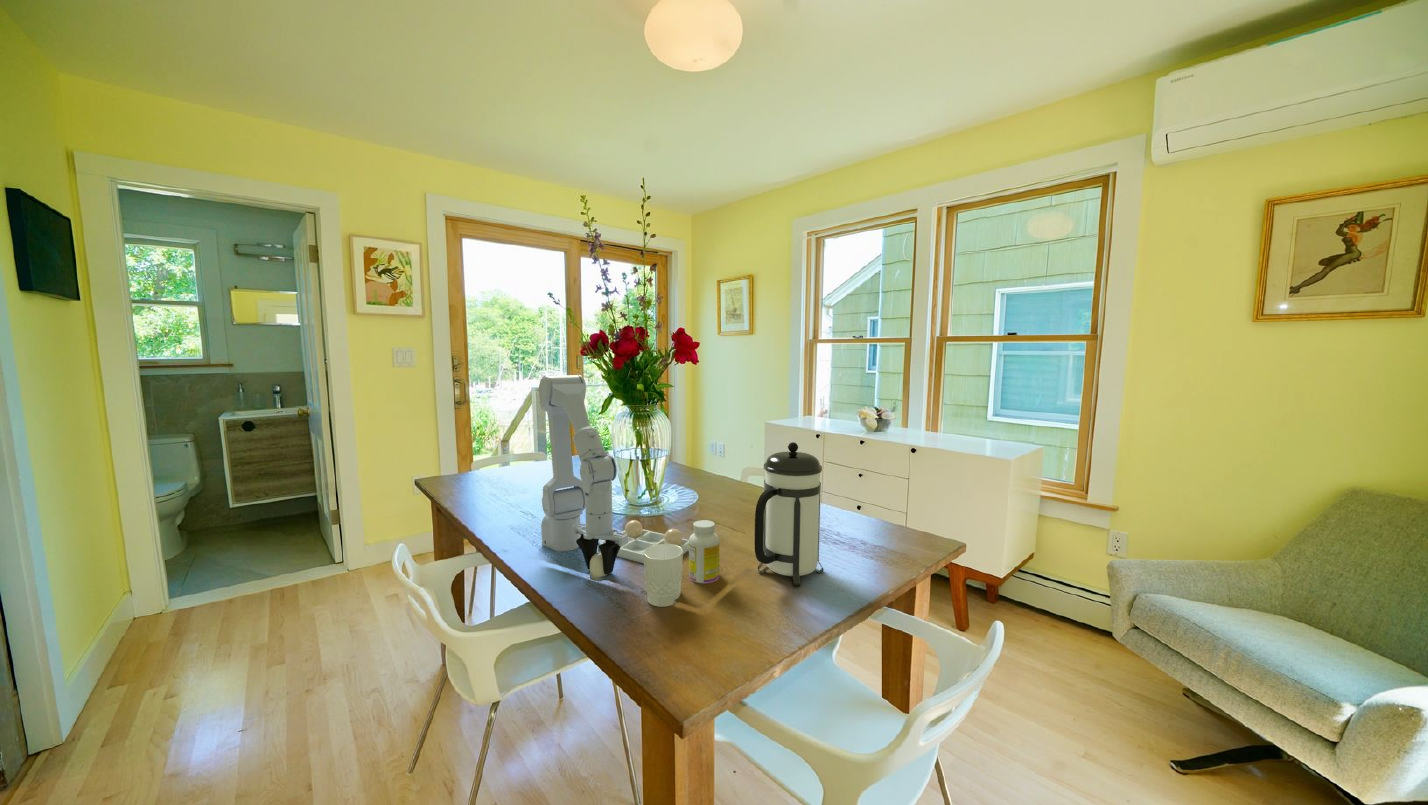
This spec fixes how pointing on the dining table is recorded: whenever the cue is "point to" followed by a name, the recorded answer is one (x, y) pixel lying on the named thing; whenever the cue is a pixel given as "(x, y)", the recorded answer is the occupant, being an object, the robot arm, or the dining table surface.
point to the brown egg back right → (673, 537)
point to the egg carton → (643, 545)
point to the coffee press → (789, 515)
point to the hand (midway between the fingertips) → (600, 570)
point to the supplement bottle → (704, 553)
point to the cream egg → (596, 567)
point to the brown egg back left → (633, 529)
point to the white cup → (663, 574)
